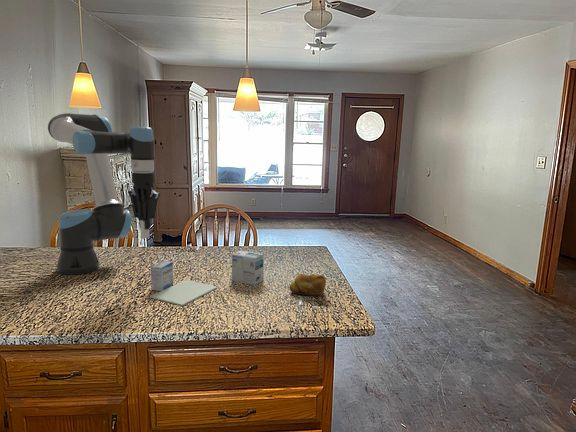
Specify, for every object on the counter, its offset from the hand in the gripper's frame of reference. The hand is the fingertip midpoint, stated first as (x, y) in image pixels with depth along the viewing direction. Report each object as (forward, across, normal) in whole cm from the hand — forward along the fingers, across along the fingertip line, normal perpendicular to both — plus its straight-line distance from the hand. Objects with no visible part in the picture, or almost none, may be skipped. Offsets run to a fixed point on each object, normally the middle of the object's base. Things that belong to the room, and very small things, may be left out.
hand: (145, 237), depth 149 cm
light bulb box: (+18, +30, +22) cm, 41 cm away
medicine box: (+18, +7, 0) cm, 19 cm away
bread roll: (+18, +54, +23) cm, 62 cm away
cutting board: (+17, +18, 0) cm, 25 cm away
